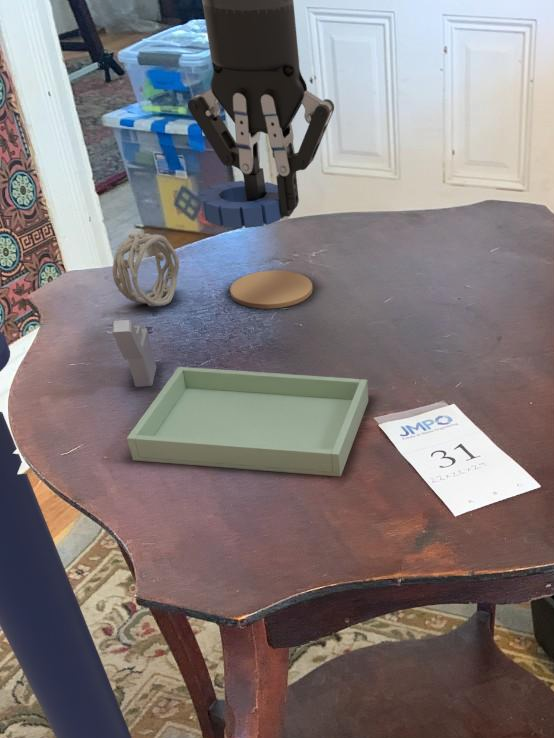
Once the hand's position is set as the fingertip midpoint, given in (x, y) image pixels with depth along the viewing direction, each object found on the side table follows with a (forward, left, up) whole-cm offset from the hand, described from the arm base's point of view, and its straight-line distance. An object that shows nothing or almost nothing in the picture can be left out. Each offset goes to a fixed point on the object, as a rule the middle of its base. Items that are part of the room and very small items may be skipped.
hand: (274, 212), depth 83 cm
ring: (-3, 0, 0) cm, 3 cm away
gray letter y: (-13, -8, -15) cm, 22 cm away
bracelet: (-19, +11, -15) cm, 27 cm away
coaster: (-6, +16, -15) cm, 23 cm away
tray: (+1, -15, -15) cm, 21 cm away
